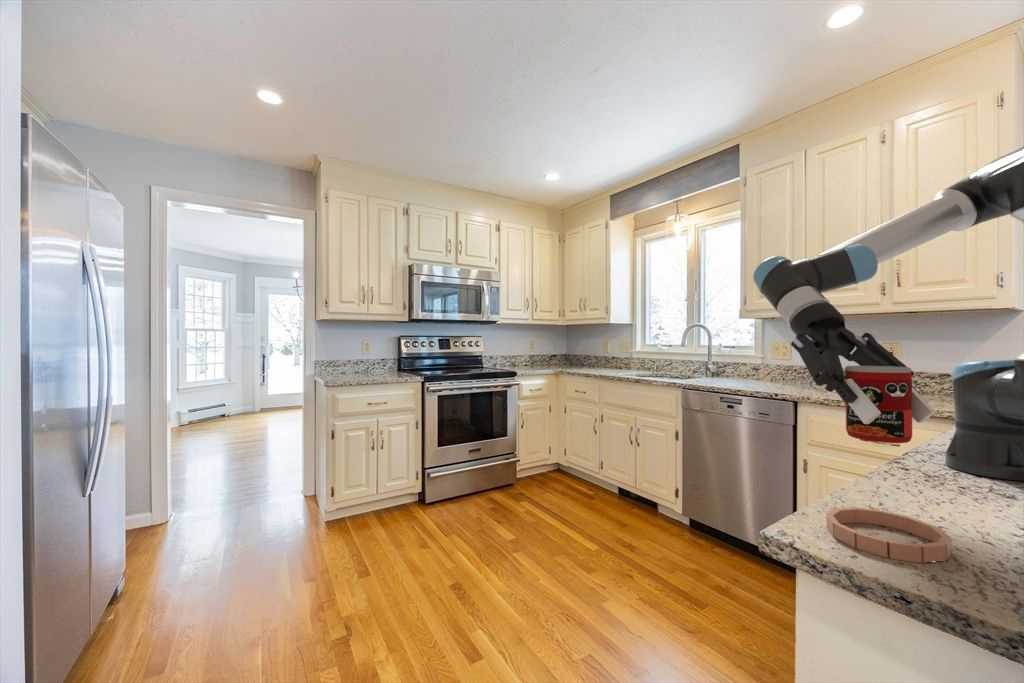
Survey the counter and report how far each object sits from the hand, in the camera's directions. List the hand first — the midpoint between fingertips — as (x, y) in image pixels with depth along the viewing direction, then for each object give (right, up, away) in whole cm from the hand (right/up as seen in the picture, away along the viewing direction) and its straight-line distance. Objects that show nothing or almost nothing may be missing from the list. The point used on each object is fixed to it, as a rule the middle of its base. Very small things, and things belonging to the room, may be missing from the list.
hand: (900, 418), depth 60 cm
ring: (-4, -17, -2) cm, 17 cm away
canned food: (0, -4, +3) cm, 5 cm away
